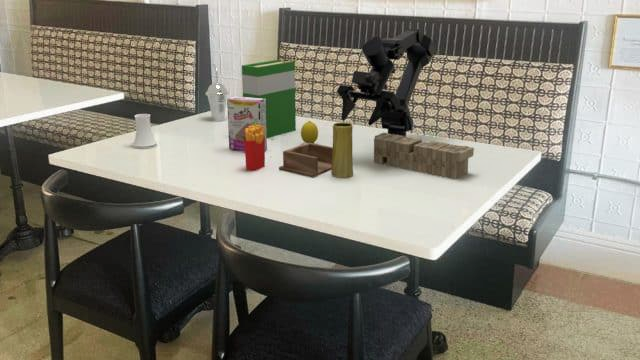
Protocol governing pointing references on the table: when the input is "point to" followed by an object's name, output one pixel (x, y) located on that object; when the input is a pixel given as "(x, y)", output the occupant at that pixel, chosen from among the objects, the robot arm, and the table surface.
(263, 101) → the candy bar box
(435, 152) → the block tower
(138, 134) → the vase
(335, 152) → the vase
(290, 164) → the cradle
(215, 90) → the cup with straw
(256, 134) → the french fries
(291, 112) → the hardback book
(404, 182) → the table surface
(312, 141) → the lemon
